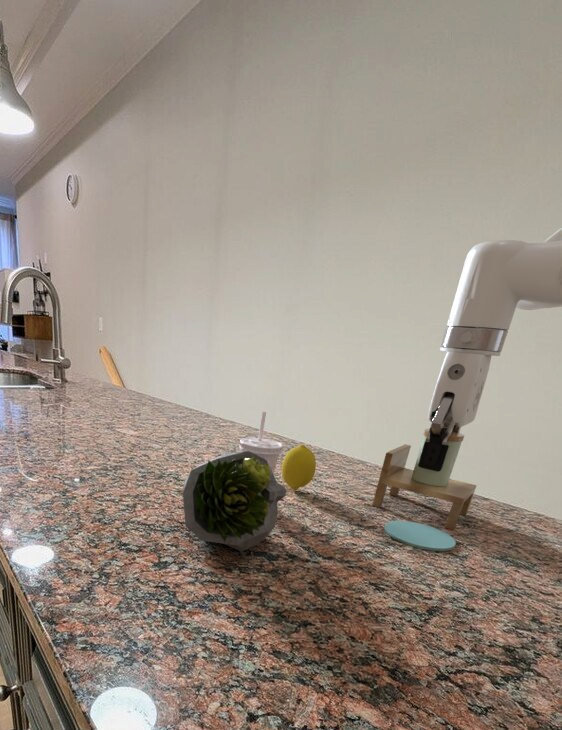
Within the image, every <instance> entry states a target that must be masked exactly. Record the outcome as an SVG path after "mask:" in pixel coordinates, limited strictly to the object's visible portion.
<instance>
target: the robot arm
mask: <svg viewBox="0 0 562 730" xmlns="http://www.w3.org/2000/svg"><path fill="white" fill-rule="evenodd" d="M552 308H562V227H560V228H559V229H557V230H556V231H555V232H554V233H553V234H552V235H550V236H549V237H547V238H546V239H545V240H544V241H543V242H527V241H522V240H516V239H515V240H514V239H497V240H496V239H495V240H487V241H483V242H480V243H477V244H475V245H474V246H472V247H471V249H470V250H469V251H468V252H467V254H466V257H465V259H464V262H463V268H462V270H461V274H460V277H459V281H458V284H457V288H456V291H455V295H454V298H453V302H452V305H451V309H450V311H449V312H450V313H449V315H448V320H447V322H446V327H445V330H444V334H443V337H442V341H441V343H440V347H439V352H445V353H446V354H445V357H444V359H443V362H442V365H441V366H440V367H441V368H440V371H439V374H438V377H437V381H436V382H435V387H434V390H433V394H432V397H431V400H430V404H429V407H428V411H427V412H428V413H427V419H428V421H429V422H431V424H430V427H429V428H428V429H429V432H428V435H427V438H426V441H425V443H424V446H423V450H422V453H421V456H420V460H419V463H418V466H419V467H420V468H424V469H429V470H433V471H437V472H439V471H441V470H442V467H443V464H444V460H445V457H446V454H447V451H448V448H449V446H448V445H447V443H448V441H449V438H450V435H451V432H452V431H453V432H457V433H460V432H461V429H462V428H463V427H464V426H467V425H469V424H471V423H473V422H474V421H475V419H476V416H477V414H478V413H477V412H478V410H479V409H478V408H479V406H480V402H481V399H482V395H483V391H484V388H485V385H486V382H487V378H488V375H489V371H490V366H491V361H492V357H494V356H495V357H500V356H501V353H502V350H503V347H504V345H505V343H506V338H507V336H508V332H509V330H510V327H511V323H512V321H513V318H514V315H515V312H516V309H520V310H522V311H523V310H524V311H533V310H542V309H552ZM446 430H447V431H446Z"/></svg>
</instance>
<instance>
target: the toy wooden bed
mask: <svg viewBox="0 0 562 730" xmlns="http://www.w3.org/2000/svg"><path fill="white" fill-rule="evenodd" d="M411 447H412V445H410V444H402V445H400V446H398V447H396V448H393V449H391V450H388V451H386V452H385V456H384V459H383V463H382V467H381V471H380V473H379V474H380V475H379V478H378V481H377V486H376V488H375V493H374V497H373V501H372V504H371V506H372V507H375V508H381V507H382V506H383V503H384V499H385V495H386V491H387V488H388V486H390V490H389V494H388V495H389V496H393V497H398V496H399V494H400V490H404V491H409V492H411V493H416V494H419V495H423V496H428V497H431V498H433V499H439V500H442V501H446V502H449V503H451V506H450V510H449V512H448V516H447V519H446V522H445V525H444V528H445V529H448V530H452V531H455V529H456V526H457V523H458V520H459V517H460V515H461V516H464V517H465V516H466V515H467V514H468V512H469V508H470V506H471V503H472V500H473V497H474V494H475V491H476V489H477V486H478V485H477V484H472V483H469V482H464V481H461V480H457V479H452V478H450V479H449V483H448V485H447V486H433V485H428V484H424V483H420V482H417V481H415V480H413V479H412V474H413V471H414V469H410V468H407V467H406V465H407V461H408V459H409V455H410V451H411Z"/></svg>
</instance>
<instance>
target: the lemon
mask: <svg viewBox="0 0 562 730" xmlns="http://www.w3.org/2000/svg"><path fill="white" fill-rule="evenodd" d="M316 468H317V461H316V456H315V454H314V453H313V451H312V450H311V449H309V447H307V446H306V445H305V444H300V445H298V446H295V447H293V448H290V449H289V450H288V451H287V452H286V454H285V456H284V458H283V461H282V463H281V476H282V479H283V481H284V482H285V483H286V484H287V486H289V487H290V488H291V489H292V490H293V491H297V490H298V489H300V488H304V487H306V486H307V485H309V484H310V483H311V481H312V480H313V478H314V476H315V473H316Z"/></svg>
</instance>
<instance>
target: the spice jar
mask: <svg viewBox="0 0 562 730" xmlns="http://www.w3.org/2000/svg"><path fill="white" fill-rule="evenodd" d="M429 429H430V428H424V431H423V437H422V440H421V443H420V446H419V451H418V453H417V456H416V461H415V464H414V468H413V470H414V471H413V474H412V479H413V480H415V481H417V482H420V483H424V484H428V485H433V486H447V485H448V483H449V479H451V476H452V473H453V471H454V467H455V464H456V462H457V457H458V455H459V451H460V448H461V446H462V443H463V441H464V439H465V434H463V433H460V432H459V433H457V432H453V431H452V432H451V435H450V438H449V441H448V443H447V445H448V446H449V448H448V451H447V454H446V457H445V460H444V464H443V467H442V470H441V471H439V472H437V471H433V470H429V469H424V468H420V467H419V466H418V463H419V460H420V456H421V453H422V450H423V446H424V443H425V441H426V438H427V435H428V432H429ZM446 431H447V430H446Z"/></svg>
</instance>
